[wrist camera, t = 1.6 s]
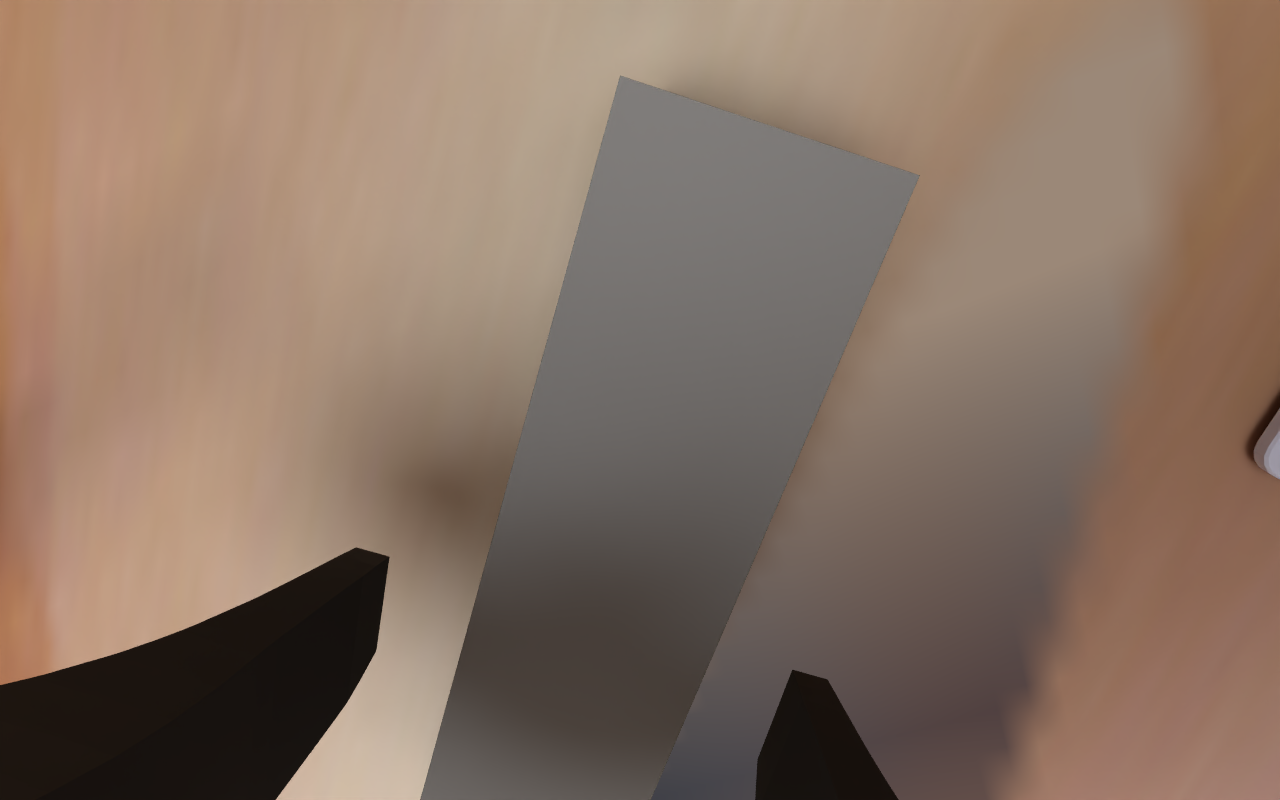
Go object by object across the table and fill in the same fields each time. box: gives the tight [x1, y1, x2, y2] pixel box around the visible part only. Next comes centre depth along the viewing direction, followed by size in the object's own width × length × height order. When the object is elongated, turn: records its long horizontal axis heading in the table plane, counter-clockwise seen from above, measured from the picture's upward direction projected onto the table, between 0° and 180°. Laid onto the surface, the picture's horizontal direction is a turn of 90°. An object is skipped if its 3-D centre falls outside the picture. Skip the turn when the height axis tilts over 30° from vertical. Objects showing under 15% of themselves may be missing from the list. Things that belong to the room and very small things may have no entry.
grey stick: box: [420, 76, 920, 800], centre depth 15 cm, size 4×18×5 cm, turn 163°
